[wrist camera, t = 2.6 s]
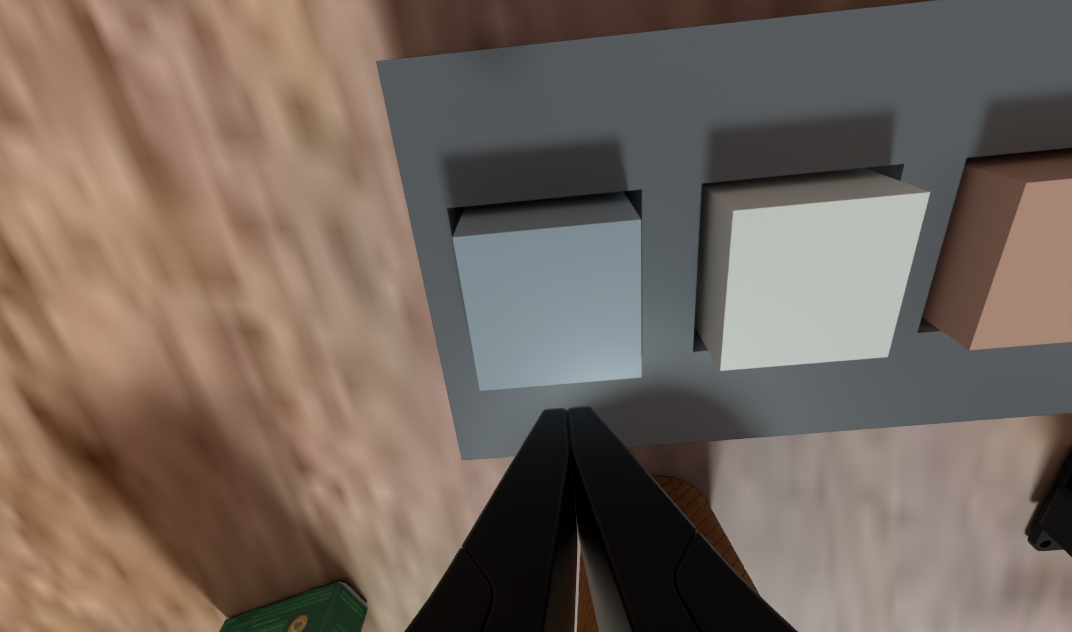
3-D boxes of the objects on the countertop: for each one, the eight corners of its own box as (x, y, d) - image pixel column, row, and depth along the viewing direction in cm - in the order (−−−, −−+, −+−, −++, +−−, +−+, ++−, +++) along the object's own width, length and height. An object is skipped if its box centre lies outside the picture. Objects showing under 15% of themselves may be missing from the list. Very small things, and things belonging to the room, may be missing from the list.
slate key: (616, 179, 15) (641, 219, 12) (619, 310, 17) (641, 377, 14) (470, 194, 16) (452, 237, 12) (490, 321, 18) (479, 390, 14)
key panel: (1098, -17, 15) (1305, -40, 11) (975, 340, 20) (1083, 412, 16) (415, 58, 16) (376, 61, 12) (475, 382, 21) (461, 460, 17)
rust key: (1066, 135, 15) (1232, 163, 11) (1015, 275, 17) (1143, 335, 13) (910, 151, 15) (1026, 182, 12) (878, 287, 17) (969, 350, 14)
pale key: (837, 158, 15) (930, 191, 12) (814, 293, 17) (888, 357, 14) (686, 172, 15) (733, 210, 12) (681, 305, 17) (720, 370, 14)
